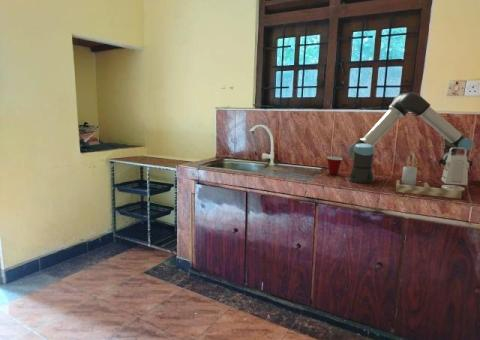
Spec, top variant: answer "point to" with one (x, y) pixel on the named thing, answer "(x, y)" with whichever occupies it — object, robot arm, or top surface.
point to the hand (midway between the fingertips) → (457, 164)
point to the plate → (451, 187)
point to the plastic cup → (334, 164)
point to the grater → (456, 169)
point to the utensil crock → (409, 173)
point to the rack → (429, 190)
